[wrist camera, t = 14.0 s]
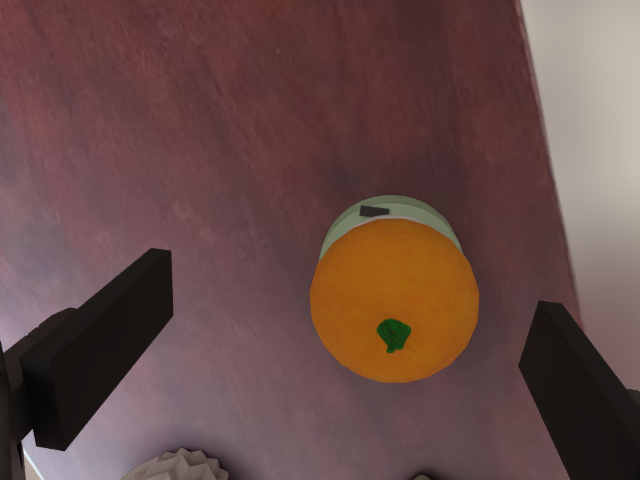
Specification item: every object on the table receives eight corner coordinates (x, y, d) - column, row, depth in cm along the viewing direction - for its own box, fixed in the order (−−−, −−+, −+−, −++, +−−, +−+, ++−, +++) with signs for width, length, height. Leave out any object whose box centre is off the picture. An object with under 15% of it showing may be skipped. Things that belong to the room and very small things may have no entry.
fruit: (361, 361, 39) (357, 453, 29) (288, 249, 36) (258, 313, 27) (493, 304, 36) (534, 389, 26) (424, 176, 33) (444, 220, 23)
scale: (474, 204, 36) (482, 217, 33) (444, 329, 40) (449, 349, 37) (329, 185, 37) (325, 196, 34) (315, 309, 41) (310, 328, 38)
